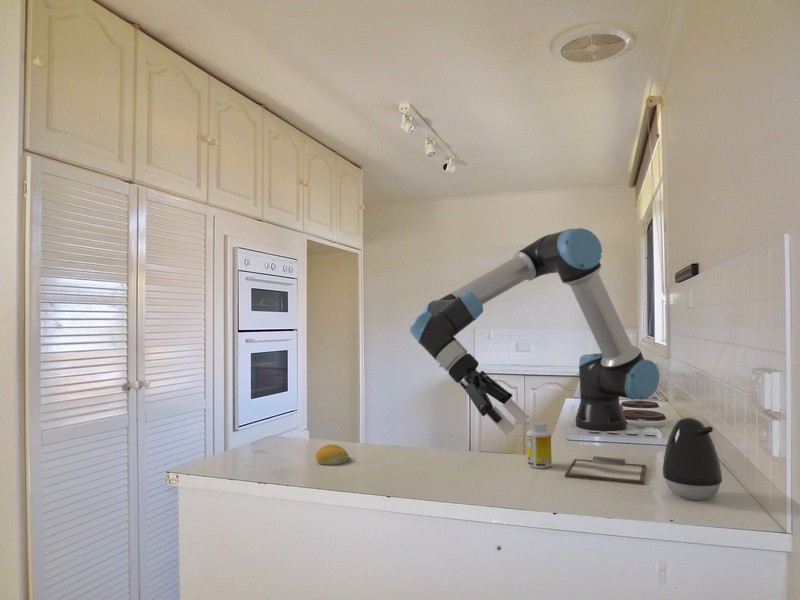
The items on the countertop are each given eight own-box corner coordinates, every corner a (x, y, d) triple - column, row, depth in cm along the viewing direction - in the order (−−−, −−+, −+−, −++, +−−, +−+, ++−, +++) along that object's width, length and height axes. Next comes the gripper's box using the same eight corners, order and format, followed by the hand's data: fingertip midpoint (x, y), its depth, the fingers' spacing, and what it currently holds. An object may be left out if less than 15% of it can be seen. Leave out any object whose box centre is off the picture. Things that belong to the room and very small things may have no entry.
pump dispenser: (691, 508, 103) (688, 424, 103) (652, 491, 113) (649, 415, 113) (736, 502, 105) (733, 420, 106) (694, 486, 115) (691, 411, 116)
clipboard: (574, 461, 137) (574, 454, 137) (646, 467, 130) (646, 460, 130) (564, 476, 124) (564, 469, 124) (643, 484, 118) (643, 476, 118)
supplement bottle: (556, 465, 134) (554, 422, 134) (544, 470, 130) (543, 426, 130) (535, 462, 138) (533, 419, 138) (523, 466, 134) (521, 423, 134)
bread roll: (318, 467, 138) (318, 451, 138) (314, 459, 147) (314, 443, 147) (351, 464, 140) (351, 448, 141) (345, 456, 149) (345, 440, 149)
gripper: (464, 368, 155) (520, 426, 148) (429, 377, 132) (492, 447, 125) (482, 349, 153) (540, 407, 145) (449, 355, 130) (515, 425, 123)
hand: (518, 426), depth 135 cm, fingers open, 13 cm apart
